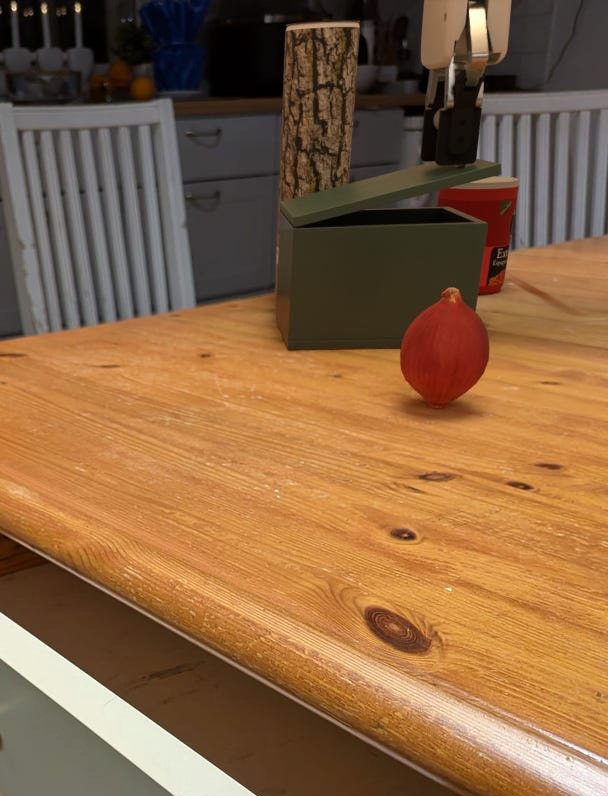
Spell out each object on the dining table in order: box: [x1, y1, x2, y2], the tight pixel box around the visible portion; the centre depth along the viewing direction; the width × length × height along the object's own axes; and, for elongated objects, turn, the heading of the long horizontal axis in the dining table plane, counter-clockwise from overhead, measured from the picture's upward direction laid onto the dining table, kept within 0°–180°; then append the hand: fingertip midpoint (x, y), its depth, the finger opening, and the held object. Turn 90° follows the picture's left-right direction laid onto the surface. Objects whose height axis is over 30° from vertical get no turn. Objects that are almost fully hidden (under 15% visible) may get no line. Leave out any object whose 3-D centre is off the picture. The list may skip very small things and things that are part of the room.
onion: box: [399, 288, 490, 409], centre depth 65 cm, size 6×6×8 cm
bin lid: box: [280, 107, 502, 227], centre depth 82 cm, size 16×14×5 cm
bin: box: [275, 206, 488, 351], centre depth 86 cm, size 16×14×10 cm
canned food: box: [436, 176, 520, 296], centre depth 103 cm, size 8×8×11 cm
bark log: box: [274, 19, 361, 303], centre depth 95 cm, size 7×7×25 cm
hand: (447, 159), depth 81 cm, fingers closed on bin lid, 5 cm apart
